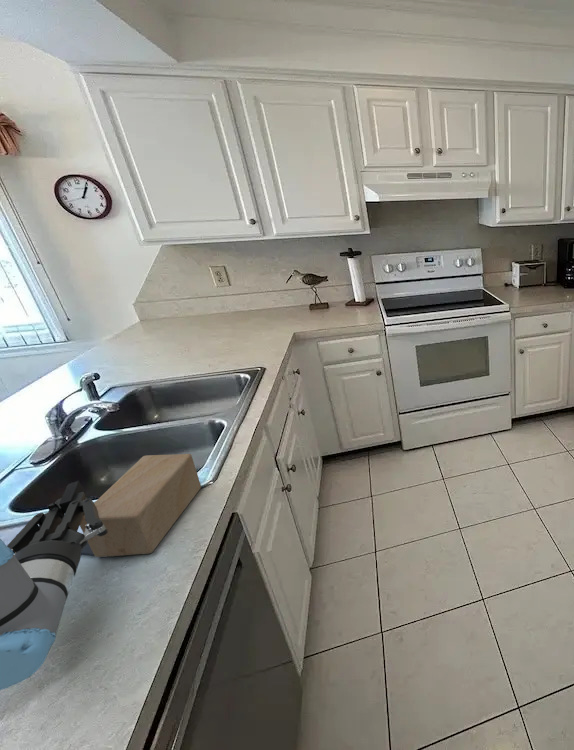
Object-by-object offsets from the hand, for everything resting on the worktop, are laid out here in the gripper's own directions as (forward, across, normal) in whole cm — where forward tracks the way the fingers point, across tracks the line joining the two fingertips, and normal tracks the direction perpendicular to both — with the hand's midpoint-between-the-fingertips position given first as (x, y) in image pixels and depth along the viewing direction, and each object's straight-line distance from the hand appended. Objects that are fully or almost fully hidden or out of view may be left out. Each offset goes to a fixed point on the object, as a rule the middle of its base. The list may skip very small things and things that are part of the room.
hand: (76, 488), depth 78 cm
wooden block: (-7, +3, -9) cm, 12 cm away
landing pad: (+2, -1, -15) cm, 15 cm away
